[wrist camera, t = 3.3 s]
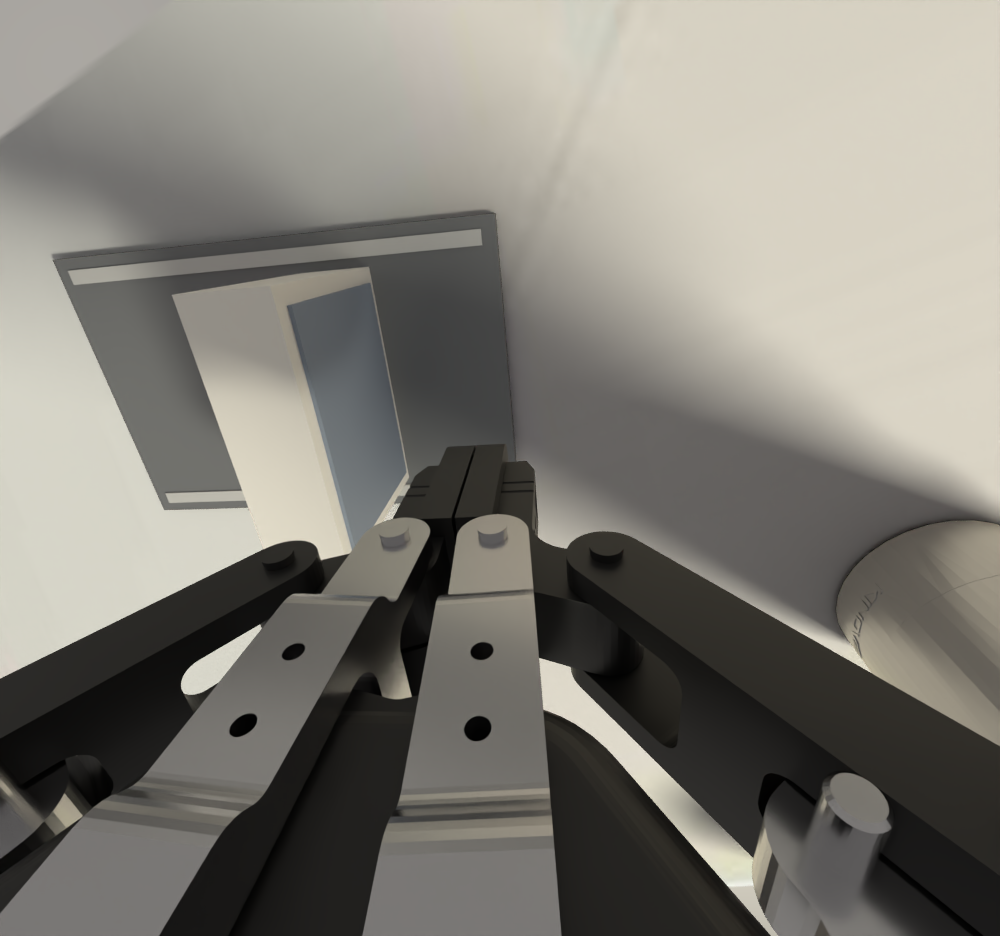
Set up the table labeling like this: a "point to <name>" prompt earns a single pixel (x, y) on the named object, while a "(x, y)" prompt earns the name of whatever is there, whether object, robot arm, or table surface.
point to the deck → (302, 402)
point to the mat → (384, 249)
